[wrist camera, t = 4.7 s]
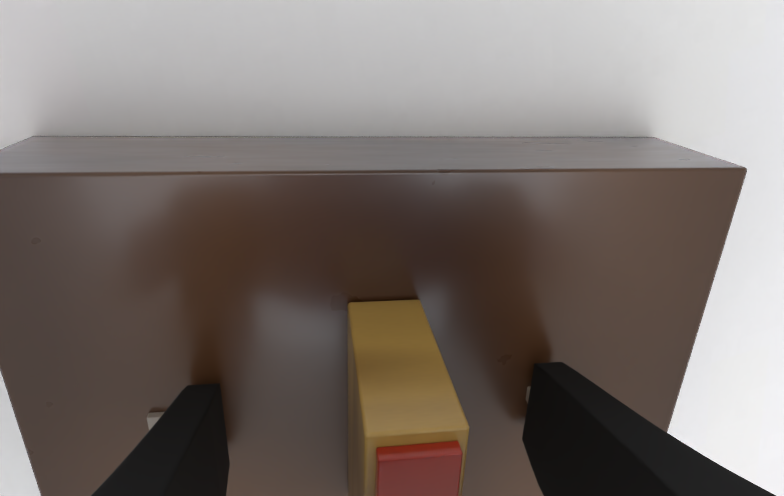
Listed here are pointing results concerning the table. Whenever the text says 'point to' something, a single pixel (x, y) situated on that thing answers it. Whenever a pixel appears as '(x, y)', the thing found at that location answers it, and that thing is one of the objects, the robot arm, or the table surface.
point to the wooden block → (401, 406)
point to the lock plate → (340, 286)
